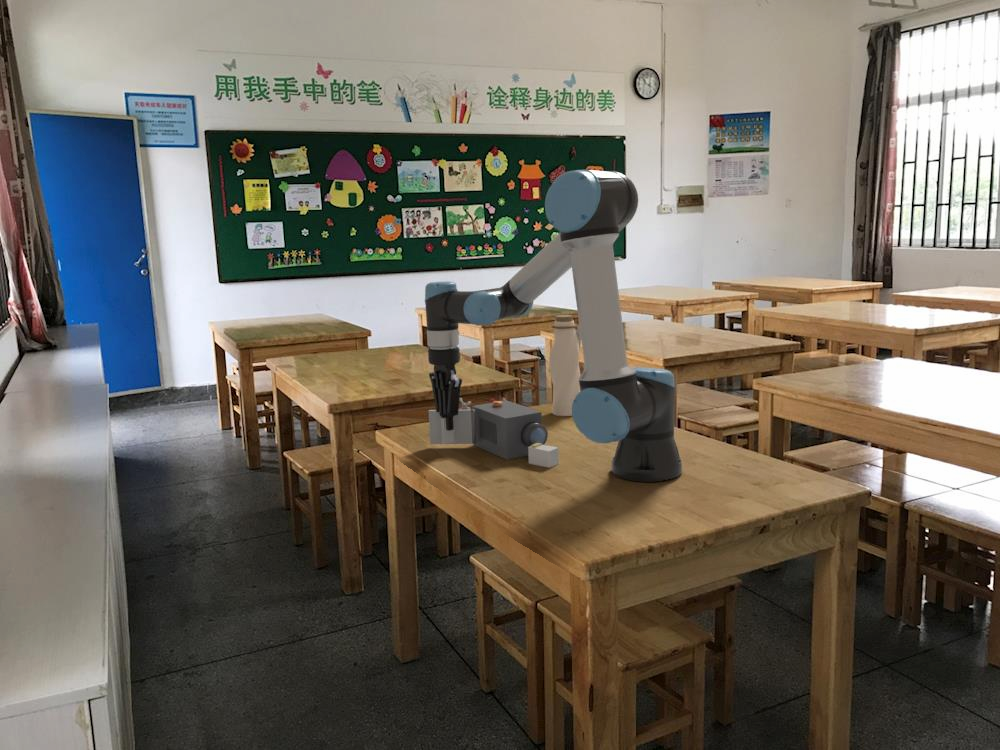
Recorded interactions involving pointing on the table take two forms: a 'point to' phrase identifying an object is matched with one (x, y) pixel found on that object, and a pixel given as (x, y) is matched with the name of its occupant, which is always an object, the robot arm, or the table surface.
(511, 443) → the grey box
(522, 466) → the table surface
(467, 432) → the side door
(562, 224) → the robot arm
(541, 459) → the block
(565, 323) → the water bottle
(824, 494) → the table surface
